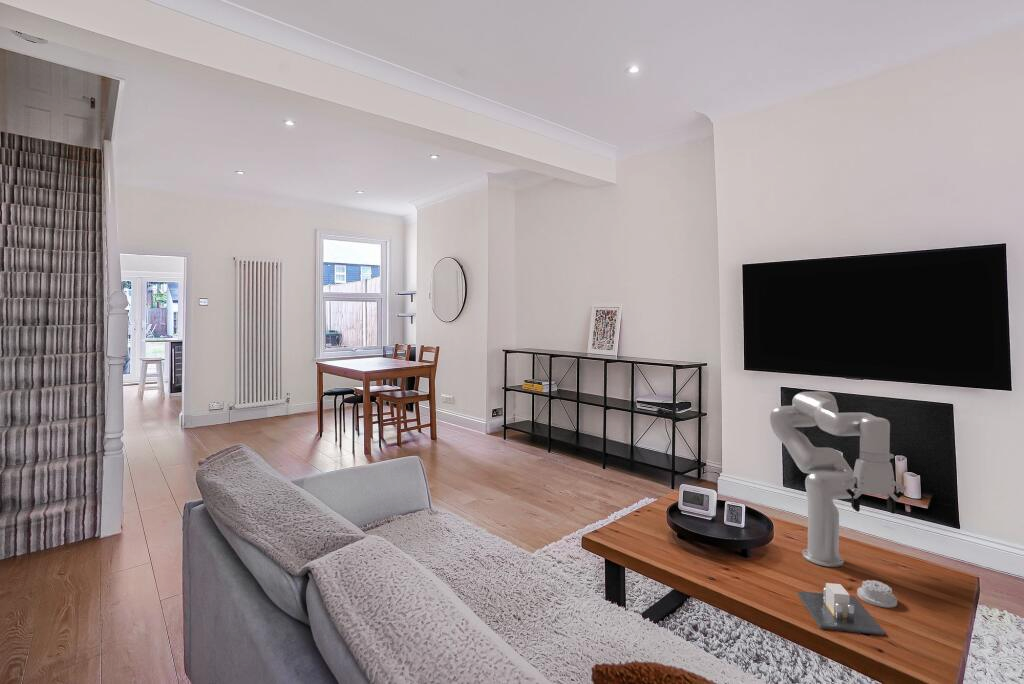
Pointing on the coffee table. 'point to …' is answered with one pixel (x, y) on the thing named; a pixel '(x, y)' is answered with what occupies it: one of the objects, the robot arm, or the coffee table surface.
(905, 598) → the coffee table surface
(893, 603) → the mechanical component
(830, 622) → the base plate
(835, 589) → the jaw block
